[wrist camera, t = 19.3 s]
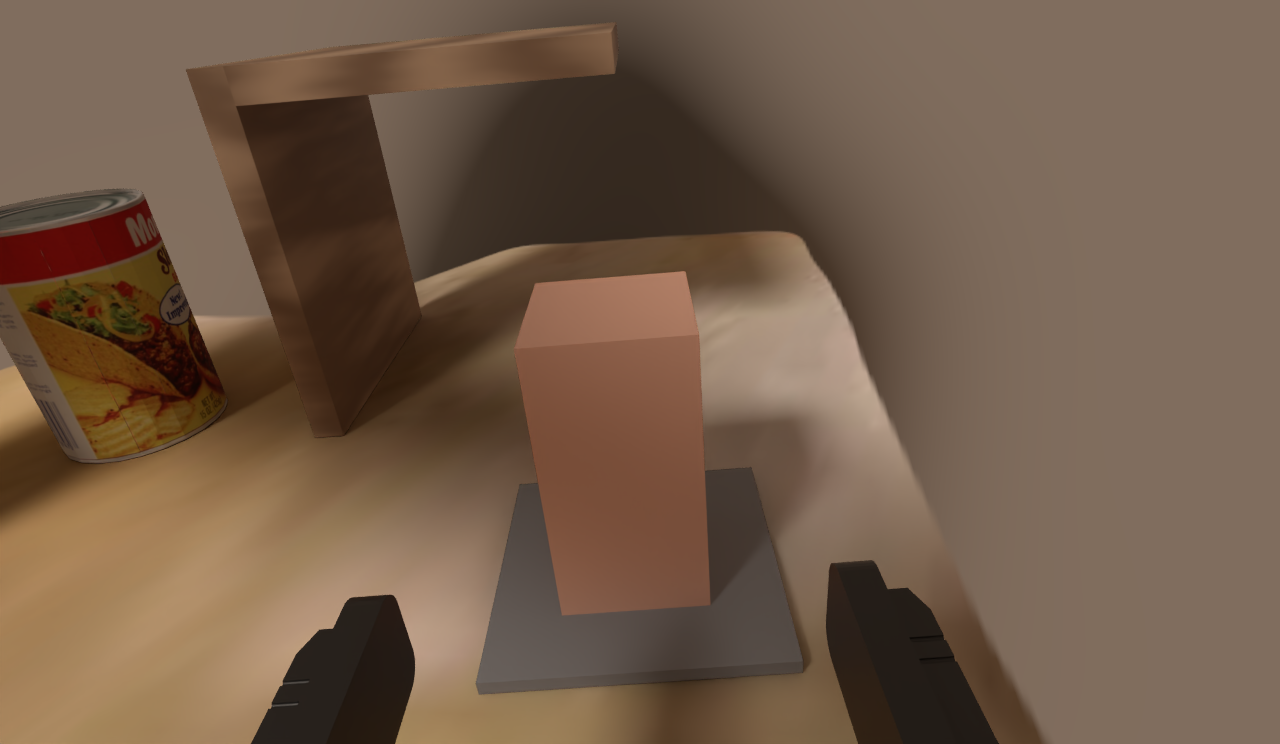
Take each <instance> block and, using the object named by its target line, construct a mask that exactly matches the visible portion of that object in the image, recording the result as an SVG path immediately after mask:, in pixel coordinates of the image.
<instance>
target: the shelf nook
mask: <svg viewBox="0 0 1280 744" xmlns="http://www.w3.org/2000/svg"><path fill="white" fill-rule="evenodd" d="M618 51H619V49H618V37H617V25H616V22H613V23H601V24H590V25H579V26H567V27H555V28H544V29H533V30H521V31H510V32H499V33H487V34H475V35H464V36H453V37H442V38H430V39H419V40H407V41H396V42H384V43H373V44H361V45H352V46H351V45H350V46H338V47H329V48H323V49H316V50H309V51H303V52H296V53H290V54H283V55H277V56H270V57H264V58H257V59H251V60H245V61H238V62H231V63H225V64H218V65H212V66H205V67H199V68H192V69H186V72H187V74H188V77H189V80H190V83H191V86H192V89H193V92H194V94H195V97H196V100H197V103H198V106H199V109H200V111H201V114H202V117H203V120H204V123H205V126H206V129H207V131H208V134H209V137H210V140H211V143H212V146H213V149H214V151H215V154H216V157H217V160H218V163H219V166H220V168H221V171H222V174H223V177H224V180H225V183H226V186H227V188H228V191H229V194H230V197H231V200H232V202H233V205H234V208H235V211H236V214H237V217H238V220H239V223H240V225H241V228H242V231H243V234H244V237H245V239H246V243H247V245H248V248H249V251H250V254H251V257H252V260H253V262H254V265H255V268H256V271H257V274H258V277H259V279H260V282H261V285H262V288H263V291H264V293H265V297H266V300H267V302H268V305H269V308H270V310H271V314H272V317H273V319H274V322H275V325H276V328H277V331H278V334H279V337H280V339H281V342H282V345H283V348H284V351H285V354H286V356H287V359H288V362H289V365H290V368H291V371H292V374H293V376H294V379H295V382H296V385H297V388H298V391H299V394H300V396H301V399H302V402H303V405H304V408H305V411H306V413H307V416H308V419H309V422H310V425H311V428H312V431H313V433H314V436H315V438H317V437H331V436H344V434H345V433H346V431H347V430H348V428H349V427H350V425H351V424H352V422H353V421H354V419H355V418H356V416H357V414H358V413H359V411H360V410H361V408H362V407H363V405H364V404H365V402H366V401H367V399H368V398H369V396H370V395H371V393H372V391H373V390H374V388H375V387H376V385H377V384H378V382H379V381H380V379H381V378H382V376H383V375H384V373H385V372H386V370H387V368H388V367H389V365H390V364H391V362H392V361H393V359H394V358H395V356H396V355H397V353H398V352H399V350H400V348H401V347H402V345H403V344H404V342H405V341H406V339H407V338H408V336H409V335H410V333H411V332H412V330H413V329H414V327H415V325H416V324H417V322H418V321H419V319H420V318H421V316H422V315H421V311H420V307H419V303H418V299H417V295H416V291H415V286H414V282H413V278H412V274H411V270H410V266H409V262H408V258H407V254H406V250H405V245H404V241H403V237H402V233H401V229H400V225H399V221H398V216H397V212H396V208H395V204H394V200H393V196H392V192H391V188H390V184H389V179H388V176H387V172H386V167H385V163H384V159H383V155H382V151H381V146H380V142H379V138H378V134H377V130H376V126H375V122H374V118H373V114H372V110H371V105H370V101H369V97H368V95H371V94H383V93H393V92H406V91H417V90H430V89H440V88H453V87H464V86H476V85H488V84H498V83H511V82H522V81H533V80H546V79H557V78H568V77H581V76H592V75H603V74H615V69H616V63H617V57H618Z"/></svg>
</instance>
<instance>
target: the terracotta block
mask: <svg viewBox="0 0 1280 744" xmlns="http://www.w3.org/2000/svg"><path fill="white" fill-rule="evenodd" d="M514 352H515V358H516V363H517V369H518V375H519V380H520V386H521V391H522V397H523V402H524V408H525V413H526V419H527V424H528V430H529V436H530V441H531V447H532V452H533V458H534V463H535V469H536V474H537V480H538V485H539V491H540V497H541V502H542V508H543V513H544V519H545V524H546V530H547V535H548V541H549V546H550V552H551V558H552V563H553V569H554V574H555V580H556V585H557V591H558V596H559V602H560V607H561V613H562V616H563V615H577V614H592V613H606V612H620V611H635V610H649V609H664V608H678V607H692V606H707V605H710V581H709V557H708V534H707V510H706V487H705V463H704V439H703V416H702V392H701V368H700V345H699V332H698V327H697V323H696V318H695V314H694V309H693V304H692V300H691V295H690V291H689V286H688V281H687V277H686V272H685V271H681V272H669V273H656V274H644V275H631V276H619V277H606V278H594V279H581V280H569V281H556V282H544V283H535V285H534V289H533V292H532V295H531V298H530V301H529V304H528V307H527V310H526V313H525V316H524V319H523V322H522V326H521V329H520V332H519V335H518V338H517V341H516V344H515V347H514Z"/></svg>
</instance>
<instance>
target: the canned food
mask: <svg viewBox="0 0 1280 744" xmlns="http://www.w3.org/2000/svg"><path fill="white" fill-rule="evenodd" d="M0 338H1V340H2V342H3V344H4V345H5V347H6V349H7V351H8V353H9V354H10V356H11V358H12V360H13V362H14V363H15V365H16V367H17V369H18V371H19V372H20V374H21V376H22V378H23V380H24V381H25V383H26V385H27V387H28V389H29V390H30V392H31V394H32V396H33V398H34V399H35V401H36V403H37V405H38V406H39V408H40V410H41V412H42V414H43V415H44V417H45V419H46V421H47V423H48V424H49V426H50V428H51V430H52V432H53V433H54V435H55V437H56V439H57V441H58V442H59V444H60V446H61V448H62V450H63V451H64V453H65V454H66V455H67V456H68V457H69V458H70V459H72V460H75V461H78V462H81V463H108V462H117V461H123V460H127V459H131V458H136V457H140V456H144V455H147V454H150V453H153V452H156V451H159V450H162V449H165V448H167V447H170V446H172V445H174V444H176V443H179V442H181V441H183V440H186V439H187V438H189V437H191V436H193V435H194V434H196V433H198V432H200V431H201V430H203V429H205V428H206V427H207V426H208V425H210V424H211V423H212V422H214V421H215V420H216V419H217V418H218V417H219V416H220V415H221V414H222V412H223V411H224V410H225V408H226V405H227V402H228V400H227V397H226V395H225V392H224V390H223V387H222V385H221V382H220V380H219V377H218V375H217V373H216V370H215V368H214V365H213V363H212V360H211V358H210V355H209V353H208V351H207V348H206V346H205V343H204V341H203V338H202V336H201V333H200V331H199V329H198V326H197V324H196V321H195V319H194V316H193V314H192V311H191V309H190V307H189V304H188V302H187V299H186V297H185V294H184V292H183V290H182V287H181V285H180V282H179V280H178V277H177V275H176V272H175V270H174V267H173V265H172V262H171V260H170V258H169V255H168V253H167V250H166V248H165V245H164V243H163V240H162V238H161V236H160V233H159V231H158V228H157V226H156V223H155V221H154V219H153V216H152V214H151V211H150V209H149V206H148V204H147V201H146V199H145V197H144V194H143V192H142V191H139V190H135V189H104V190H94V191H84V192H78V193H70V194H63V195H57V196H51V197H45V198H39V199H34V200H30V201H24V202H20V203H15V204H10V205H6V206H2V207H0Z"/></svg>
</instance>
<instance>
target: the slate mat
mask: <svg viewBox="0 0 1280 744" xmlns="http://www.w3.org/2000/svg"><path fill="white" fill-rule="evenodd" d="M705 487H706V510H707V534H708V557H709V581H710V605H707V606H692V607H678V608H664V609H649V610H635V611H620V612H606V613H592V614H577V615H563V616H562V613H561V607H560V602H559V596H558V591H557V585H556V580H555V574H554V569H553V563H552V558H551V552H550V546H549V541H548V535H547V530H546V524H545V519H544V513H543V508H542V502H541V497H540V491H539V485H538V483H533V484H520V486H519V490H518V495H517V500H516V504H515V509H514V513H513V518H512V522H511V527H510V531H509V536H508V540H507V545H506V549H505V554H504V558H503V563H502V567H501V572H500V576H499V581H498V586H497V590H496V595H495V599H494V604H493V608H492V613H491V617H490V622H489V626H488V631H487V635H486V640H485V644H484V649H483V653H482V658H481V663H480V667H479V672H478V676H477V681H476V686H477V689H478V693H479V694H491V693H506V692H521V691H536V690H551V689H565V688H580V687H595V686H610V685H625V684H640V683H654V682H669V681H684V680H699V679H714V678H729V677H743V676H758V675H773V674H788V673H803V658H802V654H801V650H800V647H799V643H798V639H797V636H796V632H795V628H794V624H793V621H792V617H791V613H790V609H789V606H788V602H787V598H786V595H785V591H784V587H783V583H782V580H781V576H780V572H779V568H778V565H777V561H776V557H775V554H774V550H773V546H772V542H771V539H770V535H769V531H768V527H767V524H766V520H765V516H764V513H763V509H762V505H761V501H760V498H759V494H758V490H757V486H756V483H755V479H754V475H753V472H752V468H751V467H750V468H736V469H723V470H709V471H705Z"/></svg>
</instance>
